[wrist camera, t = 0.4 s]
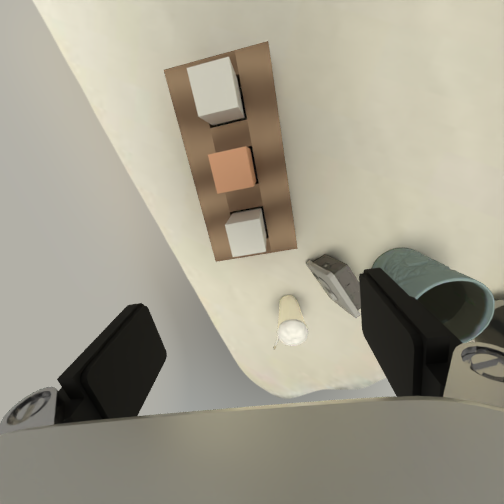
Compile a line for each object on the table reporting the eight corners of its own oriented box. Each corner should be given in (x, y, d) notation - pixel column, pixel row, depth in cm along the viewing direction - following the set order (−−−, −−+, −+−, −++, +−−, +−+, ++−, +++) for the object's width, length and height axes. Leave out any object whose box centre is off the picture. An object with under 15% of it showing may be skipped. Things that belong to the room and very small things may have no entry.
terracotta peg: (219, 155, 31) (207, 154, 25) (250, 148, 30) (245, 146, 24) (226, 187, 32) (217, 193, 26) (256, 181, 31) (253, 186, 25)
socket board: (178, 83, 32) (163, 69, 27) (268, 59, 30) (268, 41, 26) (221, 249, 40) (215, 261, 35) (293, 237, 38) (297, 248, 34)
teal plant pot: (394, 232, 37) (448, 263, 26) (445, 261, 38) (517, 303, 27) (353, 282, 41) (386, 329, 30) (401, 308, 42) (450, 362, 31)
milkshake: (267, 298, 43) (267, 337, 34) (295, 287, 42) (303, 324, 32) (277, 318, 44) (280, 360, 35) (304, 308, 43) (315, 349, 34)
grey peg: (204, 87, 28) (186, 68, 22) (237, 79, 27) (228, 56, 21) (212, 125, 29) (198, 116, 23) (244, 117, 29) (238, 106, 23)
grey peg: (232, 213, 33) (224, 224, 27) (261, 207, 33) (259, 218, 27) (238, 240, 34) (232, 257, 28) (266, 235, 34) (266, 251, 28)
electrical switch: (304, 261, 40) (318, 282, 32) (328, 245, 39) (348, 263, 31) (329, 297, 42) (348, 325, 34) (352, 283, 41) (377, 308, 33)
